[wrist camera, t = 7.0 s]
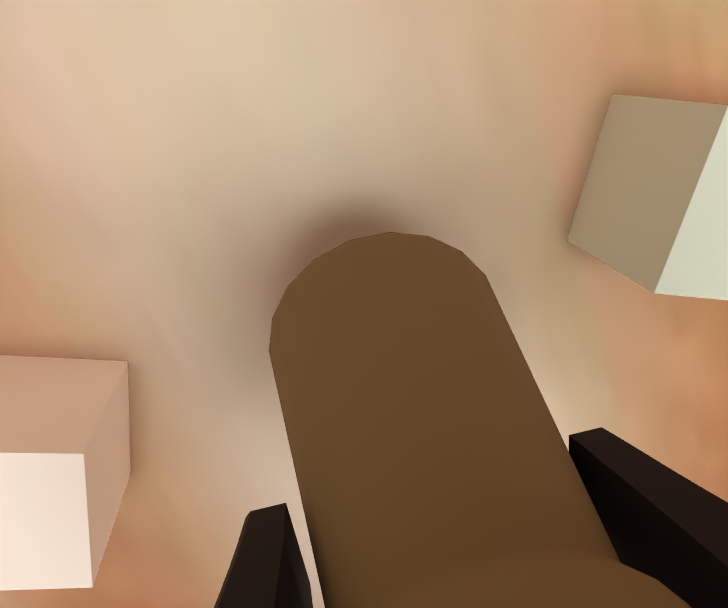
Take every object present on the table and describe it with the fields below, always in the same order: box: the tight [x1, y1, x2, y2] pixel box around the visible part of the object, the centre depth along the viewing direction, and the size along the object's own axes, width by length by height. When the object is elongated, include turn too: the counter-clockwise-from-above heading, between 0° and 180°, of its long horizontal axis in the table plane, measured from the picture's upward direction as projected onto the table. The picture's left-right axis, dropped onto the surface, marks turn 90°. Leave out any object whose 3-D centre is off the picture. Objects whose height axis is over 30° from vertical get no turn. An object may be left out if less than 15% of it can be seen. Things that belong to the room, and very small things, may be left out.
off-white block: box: [0, 355, 131, 590], centre depth 17 cm, size 5×5×5 cm
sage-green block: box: [567, 94, 728, 300], centre depth 17 cm, size 5×5×5 cm
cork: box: [269, 232, 692, 608], centre depth 9 cm, size 6×6×11 cm
